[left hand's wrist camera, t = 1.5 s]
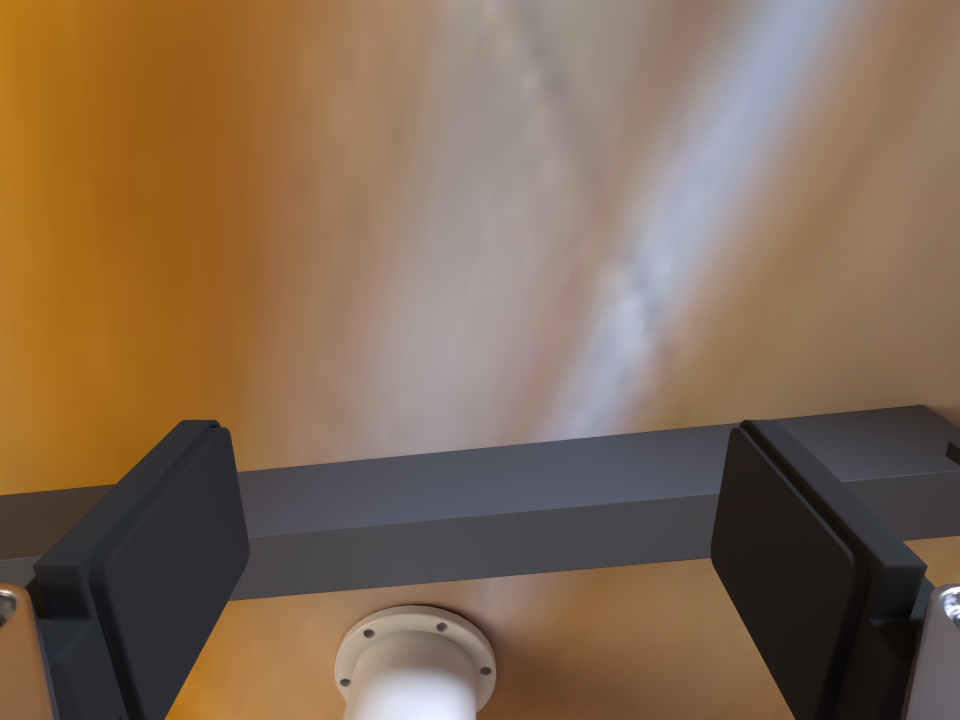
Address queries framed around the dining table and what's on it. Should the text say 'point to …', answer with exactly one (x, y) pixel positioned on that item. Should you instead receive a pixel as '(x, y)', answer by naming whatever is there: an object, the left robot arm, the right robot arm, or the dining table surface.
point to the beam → (526, 504)
